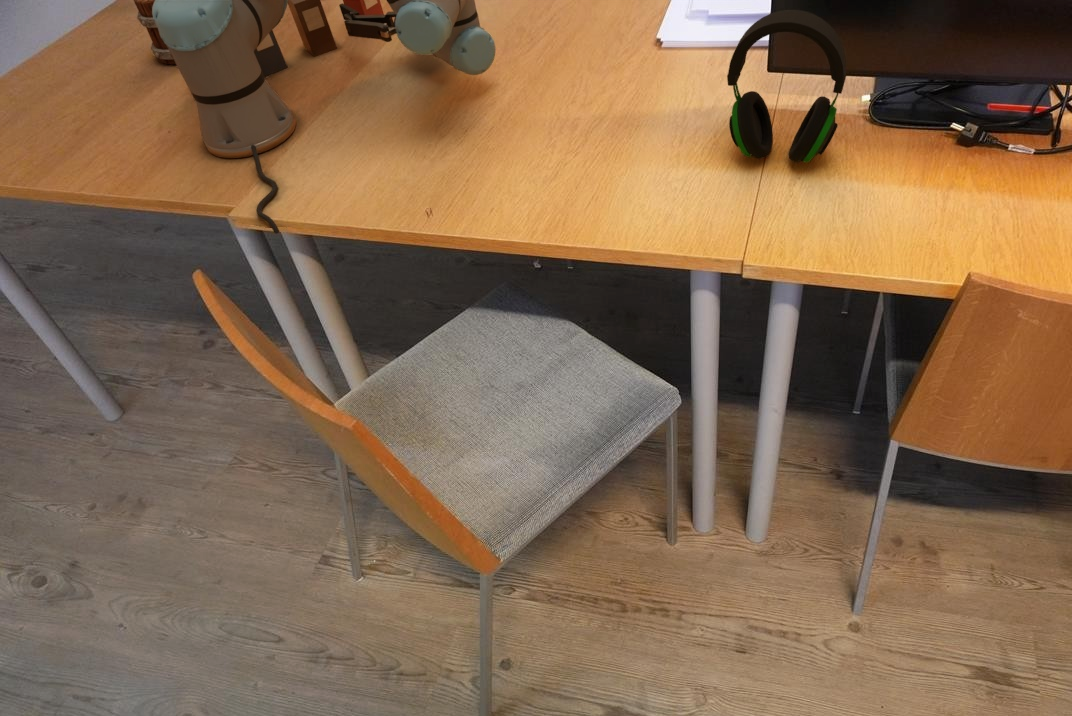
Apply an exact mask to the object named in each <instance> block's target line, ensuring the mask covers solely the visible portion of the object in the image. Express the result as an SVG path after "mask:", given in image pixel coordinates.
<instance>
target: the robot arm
mask: <svg viewBox="0 0 1072 716" xmlns="http://www.w3.org/2000/svg"><path fill="white" fill-rule="evenodd" d="M386 2H387V4H388V5H389V7H390V8H391V10H392V11H387V12H386V13H385V14H384V15H359V12H357V11H355V10H353V9H352V8H350V7H348V6H346V5H345V4H344V3H343V2H342V3H340V4H338V7H339V9H340V13H341V15H342V18H343V20H344V21H343V24H344V26H345V29H346V32H347V35H348V37H354V38H364V39H372V40H381V41H383V42H385V43H390V42H392V41H393V39H392V36H394V35H396V36H397V38H398V40H399V41H400V43H401V44H402V45H403V46H404V47H405V49H407V50H409V51H410V52H412V53H414V54H416V55H421V56H430V55H432V56H433V57H435V58H437V59H439V60H441V61H442V62H445V63H446V64H448V65H450V66H451V67H453V69H455V70H456V71H458V72H462V73H464V74H467V75H470V76H479V75H482V74H483V73H485V72H487V71H488V70H489V68H490V67H491V66H492V65H493V62H494V61H495V57H496V49H497V48H496V43H495V40H494V38H493V36H492V35H491V34H490V33H489V32H488V31H487V30H485V28H484V27H481V23H480V19H479V13H478V9H477V5H476V0H386ZM287 7H288V0H155V1H154V4H153V7H152V14H153V18H154V21H155V23H156V25H157V27H158V31H159V34H160V37H161V39H162V40H163V41H164V43H165V44H166V46H167V48H168V49H169V51H170V53H171V55H172V57H173V59H174V61H175V63H176V64H175V66H176V67H177V69H178V71H179V73H180V74H181V76H182V79H183V80H184V83H186V87H187V89H188V90H189V92H190V93H191V95H192V97H193V100H194V101H195V103H196V110H197V115H198V121H199V128H200V133H201V138H202V141H203V144H204V145H205V147H206V149H207V151H208V152H209V153H210V154H211V155H213V156H215V157H218V158H224V159H241V158H248V157H251V156H253V160H254V165H255V169H256V172H257V174H258V177H259V178H260V179H261V180H262V181H264V183H265V182H266V183H267V184H269V185H270V186H272V188H271V190H270V191H269V193H267V194H266V196H264V197H263V198H262V199H261V200H260V201H259V203H258V204H257V206H256V209H255V210H256V215H257V216H258V217H259V218H261V219H262V220H264V221H265V222H267V223H268V224H269V226H270V227H271V229H272V231H273V233H274V234H276V235H277V234H279V233H280V229H279V228H278V225H277V224H276V222H275V221H274V220H273V218H271V217H270V216H268V215H267V214H265V213H263V208H264V206H265V205H266V204H267V203H268V202H269V201H270V200H272V198H273V197H274V196H276V194H277V192H278V189H279V187H278V184H277V182H276V181H275V180H273V179H271V178H269V177H268V176H266V175H265V174H264V172H263V170H262V166H261V165H262V164H261V161H260V158H259V154H261V153H265V152H267V151H270V150H271V149H274V148H275V147H277V146H279V145H280V144H283V142H285V141H286V140H287V139H288V138H289V137H290V136H291V135H292V134H293V133H294V131H295V129H296V126H297V123H296V119H295V117H294V114H293V111H292V109H290V108H289V106H288V105H287V103H286V102H285V101H284V100H283V99H282V98H281V96H280V95H279V94H278V93H277V92H276V90H275V89H274V88H273V87H272V86H271V85H270V84H269V82H268V81H267V80H266V76H265V77H264V75H263V72H262V70H261V68H260V65H259V63H258V61H257V59H256V56H255V54H254V50H255V49H256V48H257V47H258V46H259V44H260V43H261V42H262V41H263V40H264V38H265V37H266V36H267V35H268V34H269V32H270V31H271V30H273V31H274V29H275V28H276V27H277V26H279V24H280V23H281V22H282V19H283V18H284V15H285V13H286V10H287Z"/></svg>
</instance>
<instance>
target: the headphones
mask: <svg viewBox="0 0 1072 716" xmlns="http://www.w3.org/2000/svg"><path fill="white" fill-rule="evenodd" d="M777 33H794V34H798V35H802V36H804V37H806V38H808V39H810V40H811V41H813V42H814V43H816V44H817V45H818V46H819V47H820V48H821V50H822V51H823V52H824V54H825V56H826V58H827V61H828V65H829V71H830V72H829V73H830V78H831V80H832V81H834V86H833V90H832V93H834V94H836V95H835V97H834V99H833V101H832V102H831V101H830V98H828V97H826V96H825V95H823V96H822V95H821V96H818V97H817V99H815V101H813V103H812V105H810V106H811V107H810V108H809V110H808V111H807V112H806V115H805V116H804V117H803V120H802V121H801V123H800V125H799V127H798V130H797V132H796V133H795V136H794V138H793V140H792V142H791V145H790V148H789V151H788V152H787V155H788V159H789V160H790V161H791V162H793V163H799V162H800V161H801V162H804V163H810V161H811V160H812V159H813V158H815V157H816V156H818V155H820V156H822V154H824V152H825V151H826V149H827V148H828V147H829V145H830V143H831V141H832V139H833V137H834V135H835V133H836V132H837V128H838V124H839V123H837V122H836V114H837V111H838V110H837V108H836V107H835V104H836V102H837V99H838V96H839V94H841V95H842V92H843V89H844V86H845V82H846V79H847V74H848V73H847V57H846V51H845V48H844V45H843V42H842V40H841V38H840V36H839V35H838V33H837V32H836V31H835V29H833V27H832V25H830V24H829V23H828V22H827V21H826V20H824V19H823V18H822V17H820V16H818V15H816V14H814V13H812V12H810V11H805V10H801V9H782V10H778V11H774V12H771V13H769V14H767V15H764V16H763V17H761V18H759V19H758V20H757V21H755V22H754V23H752V24H751V26H750V27H749V28H748V29H747V30H746V31H745V32H744V34H742V37H741V38H740V39H739V41H738V43H737V45H736V46H735V48H734V52H733V53H732V56H731V58H730V62H729V66H728V73H727V75H726V79H727V80H726V81H727V86H730V87H731V86H732V89H733V95H734V98H735V100H736V101H734V103H733V104H732V105H733V106H732V108H731V115H730V117H729V123H728V125H729V126H728V127H729V133H730V137H731V139H732V142H733V144H734V145H735V147H736V148H738V149H739V151H740V152H741V153H742V154H743V155H744V156H745V157H748V158H751V157H753V158H755V159H758V160H760V159H765V158H767V157H768V156H769V155H770V154H771V152H772V148H773V143H774V134H773V133H774V131H773V123H772V119H771V115H770V112H769V108H768V106H767V104H766V102H765V99H764V98H763V97H762V96H761V95H760V93H759V92H757V91H754V90H750V91H747V92H744V93H743V94H742V96H741V93H740V91H739V86H738V82H739V78H740V77H741V73H742V70H743V69H744V66H745V64H746V59H747V54H748V52H749V50H750V49H751V48H752V47H753V46H754V45H755V44H756V43H757V42H759V41H760V40H762V39H763V38H765V37H768V36H769V35H773V34H777Z"/></svg>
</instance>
